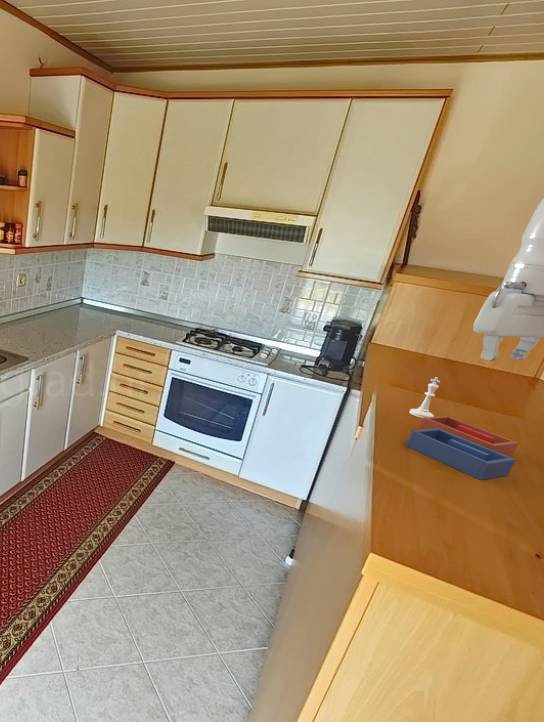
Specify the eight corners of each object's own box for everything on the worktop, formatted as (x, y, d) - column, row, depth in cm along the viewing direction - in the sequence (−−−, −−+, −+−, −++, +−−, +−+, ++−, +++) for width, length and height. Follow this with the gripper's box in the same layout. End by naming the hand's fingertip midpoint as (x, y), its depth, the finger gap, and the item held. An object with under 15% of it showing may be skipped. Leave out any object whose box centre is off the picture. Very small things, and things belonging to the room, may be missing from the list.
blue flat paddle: (486, 468, 93) (493, 454, 92) (475, 470, 92) (483, 455, 91) (434, 445, 101) (440, 432, 100) (423, 447, 100) (429, 433, 99)
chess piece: (407, 409, 124) (422, 372, 120) (430, 414, 122) (446, 377, 119) (411, 415, 120) (427, 377, 116) (435, 421, 118) (452, 382, 114)
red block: (492, 451, 102) (498, 437, 101) (482, 452, 101) (489, 438, 100) (443, 431, 110) (448, 418, 109) (433, 432, 109) (439, 419, 108)
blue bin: (507, 475, 92) (515, 459, 91) (480, 480, 89) (489, 463, 88) (431, 442, 104) (437, 428, 103) (405, 445, 101) (411, 430, 100)
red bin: (511, 457, 101) (518, 442, 100) (487, 461, 98) (494, 445, 97) (440, 429, 113) (446, 415, 112) (417, 431, 110) (423, 417, 108)
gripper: (526, 284, 78) (489, 365, 83) (590, 289, 86) (553, 364, 90) (481, 277, 83) (448, 354, 88) (545, 283, 91) (512, 354, 96)
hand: (502, 359), depth 89 cm, fingers open, 8 cm apart
